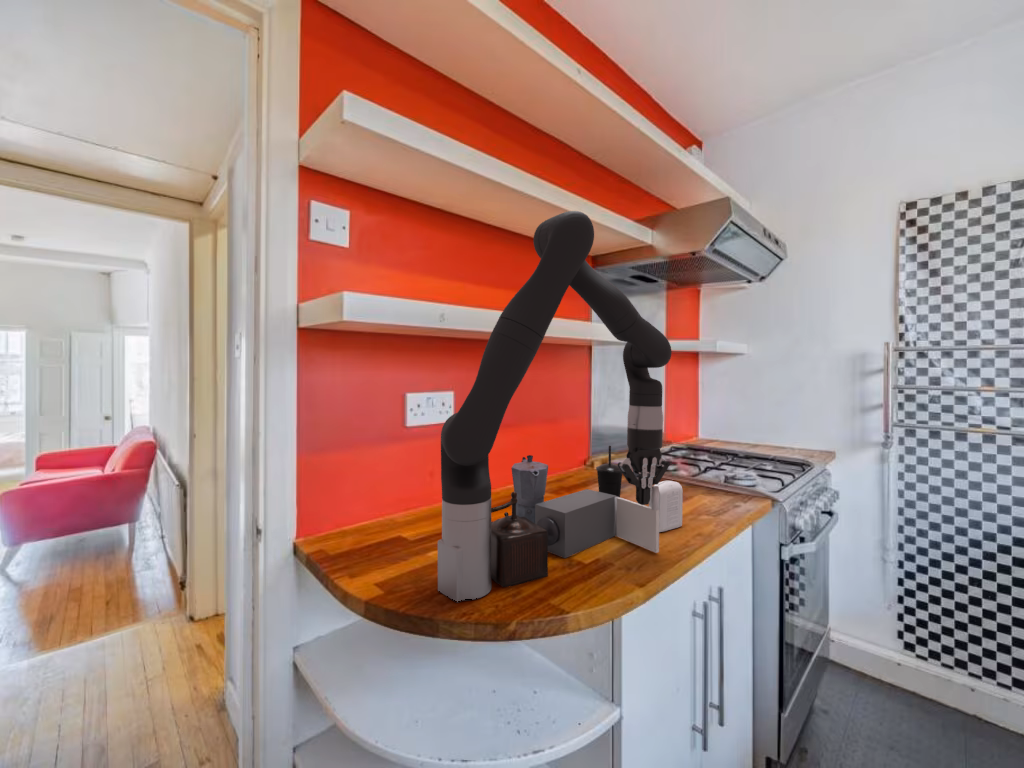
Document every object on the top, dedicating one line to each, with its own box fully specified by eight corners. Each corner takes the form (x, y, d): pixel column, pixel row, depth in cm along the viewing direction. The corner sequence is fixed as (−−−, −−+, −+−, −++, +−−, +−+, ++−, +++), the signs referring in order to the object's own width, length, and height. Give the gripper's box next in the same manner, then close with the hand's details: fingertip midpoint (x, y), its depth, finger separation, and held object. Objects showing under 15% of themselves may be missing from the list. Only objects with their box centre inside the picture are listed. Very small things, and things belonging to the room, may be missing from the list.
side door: (660, 551, 99) (661, 487, 99) (655, 553, 99) (656, 488, 98) (618, 533, 110) (618, 476, 110) (613, 535, 110) (614, 476, 109)
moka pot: (519, 544, 105) (519, 460, 104) (503, 523, 119) (502, 450, 119) (556, 540, 107) (556, 458, 107) (536, 520, 122) (536, 448, 122)
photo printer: (671, 522, 121) (671, 477, 120) (684, 526, 117) (685, 480, 117) (645, 529, 115) (646, 482, 115) (659, 534, 111) (659, 485, 111)
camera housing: (561, 560, 96) (561, 514, 96) (531, 548, 102) (531, 505, 102) (616, 535, 111) (616, 495, 110) (586, 526, 117) (587, 489, 117)
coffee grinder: (522, 556, 98) (522, 475, 98) (549, 576, 88) (549, 487, 88) (456, 571, 91) (456, 484, 90) (478, 595, 81) (477, 497, 80)
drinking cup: (621, 511, 130) (621, 443, 129) (625, 520, 122) (625, 448, 122) (594, 511, 130) (595, 443, 130) (597, 519, 123) (597, 447, 122)
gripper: (630, 428, 92) (628, 511, 92) (680, 427, 97) (678, 505, 97) (609, 425, 99) (608, 501, 99) (657, 423, 104) (655, 497, 104)
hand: (643, 503), depth 98 cm, fingers closed
